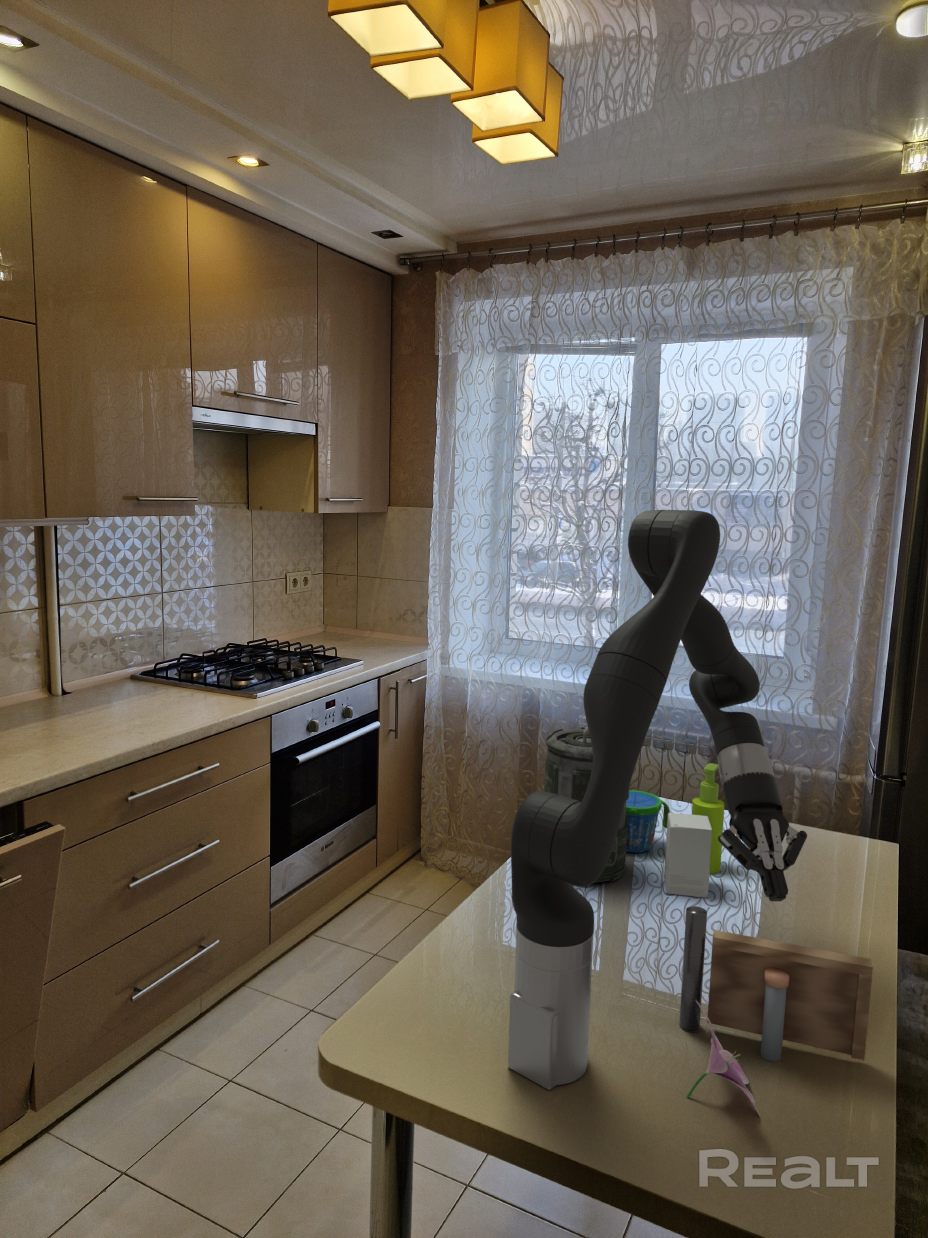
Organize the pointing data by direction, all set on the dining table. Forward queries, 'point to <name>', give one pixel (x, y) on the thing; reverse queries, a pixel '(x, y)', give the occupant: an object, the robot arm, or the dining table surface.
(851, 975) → the gate
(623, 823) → the canister
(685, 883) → the supplement box
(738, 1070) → the lily
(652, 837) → the snack cup
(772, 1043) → the stop post
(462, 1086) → the dining table surface
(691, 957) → the gatepost
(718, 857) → the soap dispenser
